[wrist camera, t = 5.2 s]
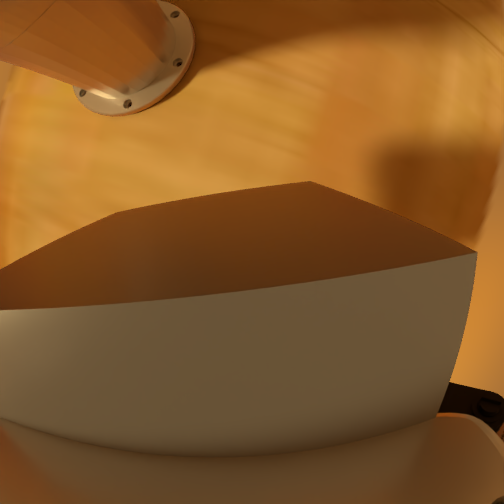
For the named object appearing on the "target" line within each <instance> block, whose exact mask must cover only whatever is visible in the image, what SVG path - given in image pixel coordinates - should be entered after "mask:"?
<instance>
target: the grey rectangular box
mask: <svg viewBox="0 0 504 504" xmlns="http://www.w3.org/2000/svg"><path fill="white" fill-rule="evenodd" d="M476 261H477V252H476V251H474V250H472V249H470V248H468V247H466V246H464V245H462V244H460V243H458V242H456V241H454V240H452V239H450V238H448V237H446V236H444V235H442V234H440V233H437V232H435V231H433V230H431V229H429V228H427V227H424V226H422V225H420V224H418V223H416V222H413V221H411V220H409V219H406V218H404V217H402V216H399V215H397V214H395V213H392V212H390V211H388V210H385V209H383V208H380V207H378V206H375V205H373V204H370V203H368V202H365V201H363V200H360V199H358V198H355V197H352V196H350V195H347V194H345V193H342V192H339V191H336V190H334V189H331V188H328V187H325V186H323V185H320V184H317V183H314V182H311V181H308V182H299V183H290V184H282V185H274V186H266V187H259V188H252V189H245V190H238V191H231V192H224V193H218V194H212V195H206V196H200V197H194V198H188V199H182V200H177V201H171V202H166V203H161V204H155V205H150V206H145V207H140V208H135V209H131V210H126V211H121V212H117V213H114V214H112V215H110V216H107V217H105V218H103V219H100V220H98V221H96V222H94V223H92V224H89V225H87V226H85V227H83V228H81V229H78V230H76V231H74V232H72V233H70V234H68V235H66V236H64V237H62V238H59V239H57V240H55V241H53V242H51V243H49V244H47V245H45V246H43V247H41V248H39V249H38V250H36V251H34V252H32V253H30V254H28V255H26V256H24V257H22V258H20V259H19V260H17V261H15V262H13V263H11V264H10V265H8V266H6V267H4V268H2V269H1V270H0V417H1V418H3V419H6V420H8V421H11V422H14V423H16V424H19V425H22V426H25V427H28V428H31V429H34V430H37V431H40V432H43V433H47V434H50V435H53V436H57V437H61V438H64V439H68V440H72V441H76V442H80V443H85V444H89V445H94V446H99V447H105V448H110V449H116V450H122V451H129V452H136V453H144V454H154V455H165V456H179V457H204V458H226V457H252V456H266V455H277V454H286V453H294V452H301V451H309V450H315V449H322V448H327V447H333V446H338V445H343V444H347V443H352V442H356V441H360V440H365V439H369V438H372V437H376V436H380V435H384V434H387V433H391V432H394V431H397V430H401V429H404V428H407V427H410V426H413V425H416V424H419V423H422V422H425V421H428V420H431V419H433V418H436V415H437V413H438V411H439V408H440V406H441V403H442V400H443V398H444V395H445V392H446V390H447V387H448V384H449V381H450V378H451V375H452V372H453V369H454V366H455V362H456V359H457V356H458V352H459V349H460V345H461V341H462V338H463V334H464V329H465V325H466V321H467V316H468V311H469V306H470V301H471V296H472V290H473V284H474V277H475V269H476Z"/></svg>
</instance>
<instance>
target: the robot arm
mask: <svg viewBox="0 0 504 504" xmlns="http://www.w3.org/2000/svg"><path fill="white" fill-rule="evenodd" d="M194 50H195V33H194V28H193V26H192V24H191V21H190V19H189V18H188V16H187V15H186V14H185V12H184V11H183V10H181V9H180V8H179V7H178V6H176V5H174V4H172V3H169V2H166V1H162V0H0V61H4V62H7V63H10V64H13V65H17V66H20V67H23V68H26V69H29V70H32V71H35V72H38V73H41V74H44V75H46V76H49V77H52V78H55V79H57V80H60V81H63V82H65V83H68V84H71V85H72V86H73V89H74V93H75V95H76V96H77V98H78V100H79V101H80V102H81V103H82V104H83V105H84V106H85V107H86V108H88V109H89V110H91V111H93V112H95V113H98V114H101V115H106V116H112V117H113V116H126V115H130V114H134V113H137V112H139V111H142V110H144V109H147V108H149V107H150V106H152V105H153V104H155V103H157V102H158V101H160V100H161V99H162V98H163V97H165V96H166V95H167V94H168V93H170V92H171V91H172V89H173V88H174V87H175V86H176V85H177V84H178V83H179V82H180V80H181V79H182V77H183V76H184V74H185V73H186V71H187V70H188V67H189V65H190V63H191V61H192V58H193V54H194ZM179 64H182V65H181V66H179V67H178V65H179ZM131 104H132V106H131V107H130V105H131ZM0 504H504V398H503V397H502V396H500V395H499V394H496V393H494V392H491V391H485V390H481V389H477V388H472V387H468V386H464V385H459V384H455V383H451V382H449V384H448V387H447V390H446V392H445V395H444V398H443V400H442V403H441V406H440V408H439V411H438V413H437V415H436V418H433V419H431V420H428V421H425V422H422V423H419V424H416V425H413V426H410V427H407V428H404V429H401V430H397V431H394V432H391V433H387V434H384V435H380V436H376V437H372V438H369V439H365V440H360V441H356V442H352V443H347V444H343V445H338V446H333V447H327V448H322V449H315V450H309V451H301V452H294V453H286V454H277V455H266V456H252V457H226V458H204V457H179V456H165V455H154V454H144V453H136V452H129V451H122V450H116V449H110V448H105V447H99V446H94V445H89V444H85V443H80V442H76V441H72V440H68V439H64V438H61V437H57V436H53V435H50V434H47V433H43V432H40V431H37V430H34V429H31V428H28V427H25V426H22V425H19V424H16V423H14V422H11V421H8V420H6V419H3V418H1V417H0Z"/></svg>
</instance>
